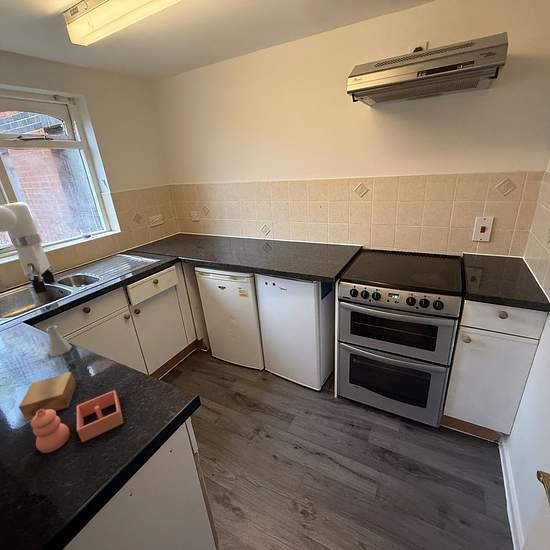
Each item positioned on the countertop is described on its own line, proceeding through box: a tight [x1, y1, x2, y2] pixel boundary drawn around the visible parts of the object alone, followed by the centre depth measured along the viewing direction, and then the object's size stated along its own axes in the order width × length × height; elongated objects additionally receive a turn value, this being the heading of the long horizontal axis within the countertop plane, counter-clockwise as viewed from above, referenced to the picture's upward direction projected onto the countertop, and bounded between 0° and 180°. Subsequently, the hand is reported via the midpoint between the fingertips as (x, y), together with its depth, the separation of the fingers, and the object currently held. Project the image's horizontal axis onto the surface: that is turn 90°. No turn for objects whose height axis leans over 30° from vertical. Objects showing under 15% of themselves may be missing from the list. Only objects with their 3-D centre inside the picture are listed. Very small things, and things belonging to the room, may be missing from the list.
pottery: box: [30, 389, 124, 454], centre depth 73 cm, size 18×10×10 cm, turn 123°
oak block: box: [18, 371, 77, 421], centre depth 84 cm, size 10×10×5 cm
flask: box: [45, 325, 73, 358], centre depth 108 cm, size 7×7×10 cm
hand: (46, 287), depth 106 cm, fingers open, 9 cm apart
